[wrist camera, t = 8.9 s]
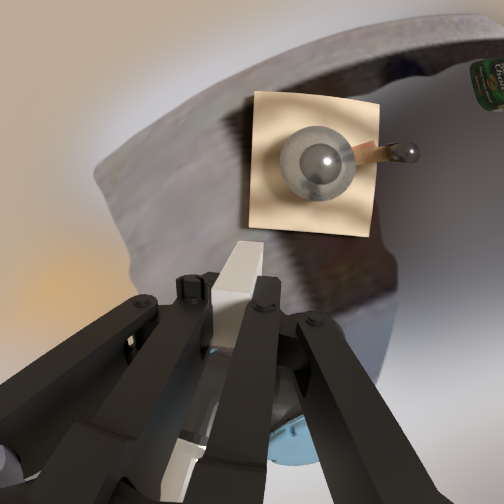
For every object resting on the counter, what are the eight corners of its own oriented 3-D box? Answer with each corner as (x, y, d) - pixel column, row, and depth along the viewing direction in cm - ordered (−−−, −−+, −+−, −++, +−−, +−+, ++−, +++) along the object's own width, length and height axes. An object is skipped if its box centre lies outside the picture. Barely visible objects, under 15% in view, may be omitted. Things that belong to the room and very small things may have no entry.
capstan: (288, 204, 40) (288, 215, 32) (273, 135, 37) (269, 129, 29) (402, 185, 37) (426, 192, 29) (390, 118, 34) (413, 111, 26)
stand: (365, 233, 42) (368, 237, 40) (250, 224, 44) (248, 227, 42) (375, 106, 35) (379, 104, 33) (256, 94, 37) (254, 91, 35)
